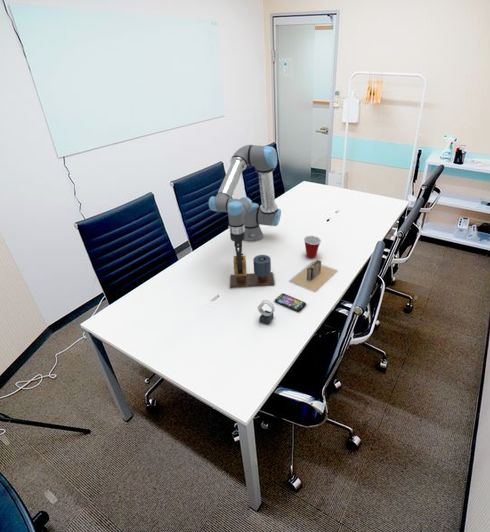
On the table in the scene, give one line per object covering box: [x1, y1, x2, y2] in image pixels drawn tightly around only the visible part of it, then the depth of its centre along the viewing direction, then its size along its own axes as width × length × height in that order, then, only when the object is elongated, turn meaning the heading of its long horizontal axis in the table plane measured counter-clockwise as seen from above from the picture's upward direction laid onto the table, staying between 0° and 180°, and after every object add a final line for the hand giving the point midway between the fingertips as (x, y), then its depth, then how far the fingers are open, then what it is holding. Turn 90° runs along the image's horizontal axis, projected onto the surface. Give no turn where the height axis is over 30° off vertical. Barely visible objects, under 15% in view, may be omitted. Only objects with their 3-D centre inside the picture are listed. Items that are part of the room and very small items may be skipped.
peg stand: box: [229, 258, 275, 289], centre depth 183 cm, size 24×11×14 cm, turn 97°
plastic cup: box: [303, 235, 322, 259], centre depth 208 cm, size 11×11×12 cm
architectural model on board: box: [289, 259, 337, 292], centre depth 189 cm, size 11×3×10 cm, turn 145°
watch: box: [257, 299, 276, 325], centre depth 157 cm, size 6×8×11 cm
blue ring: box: [252, 254, 272, 276], centre depth 182 cm, size 9×9×8 cm
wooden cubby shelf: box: [232, 255, 248, 276], centre depth 181 cm, size 6×6×9 cm
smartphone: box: [274, 292, 307, 312], centre depth 170 cm, size 8×1×15 cm
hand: (240, 269), depth 182 cm, fingers closed on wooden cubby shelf, 6 cm apart
